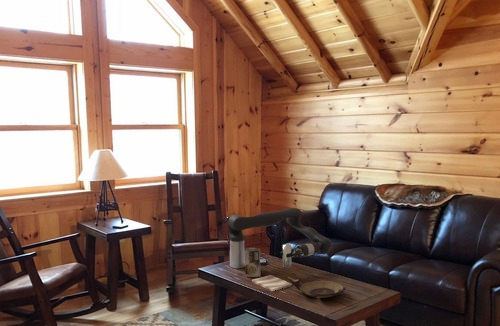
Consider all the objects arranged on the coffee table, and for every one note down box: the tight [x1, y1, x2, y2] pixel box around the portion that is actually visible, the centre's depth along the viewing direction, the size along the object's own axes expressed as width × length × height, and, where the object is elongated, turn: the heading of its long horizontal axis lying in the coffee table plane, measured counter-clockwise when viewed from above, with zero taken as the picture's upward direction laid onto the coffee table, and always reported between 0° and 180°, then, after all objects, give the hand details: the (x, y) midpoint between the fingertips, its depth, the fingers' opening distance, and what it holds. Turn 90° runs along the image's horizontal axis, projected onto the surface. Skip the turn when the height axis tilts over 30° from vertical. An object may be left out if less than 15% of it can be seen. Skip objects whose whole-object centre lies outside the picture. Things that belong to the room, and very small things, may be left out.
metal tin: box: [282, 243, 292, 269], centre depth 256 cm, size 5×5×13 cm
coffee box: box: [244, 247, 261, 278], centre depth 262 cm, size 9×6×16 cm
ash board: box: [251, 274, 293, 292], centre depth 247 cm, size 19×14×1 cm
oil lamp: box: [287, 276, 347, 299], centre depth 230 cm, size 22×30×8 cm
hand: (283, 254), depth 255 cm, fingers closed on metal tin, 5 cm apart
